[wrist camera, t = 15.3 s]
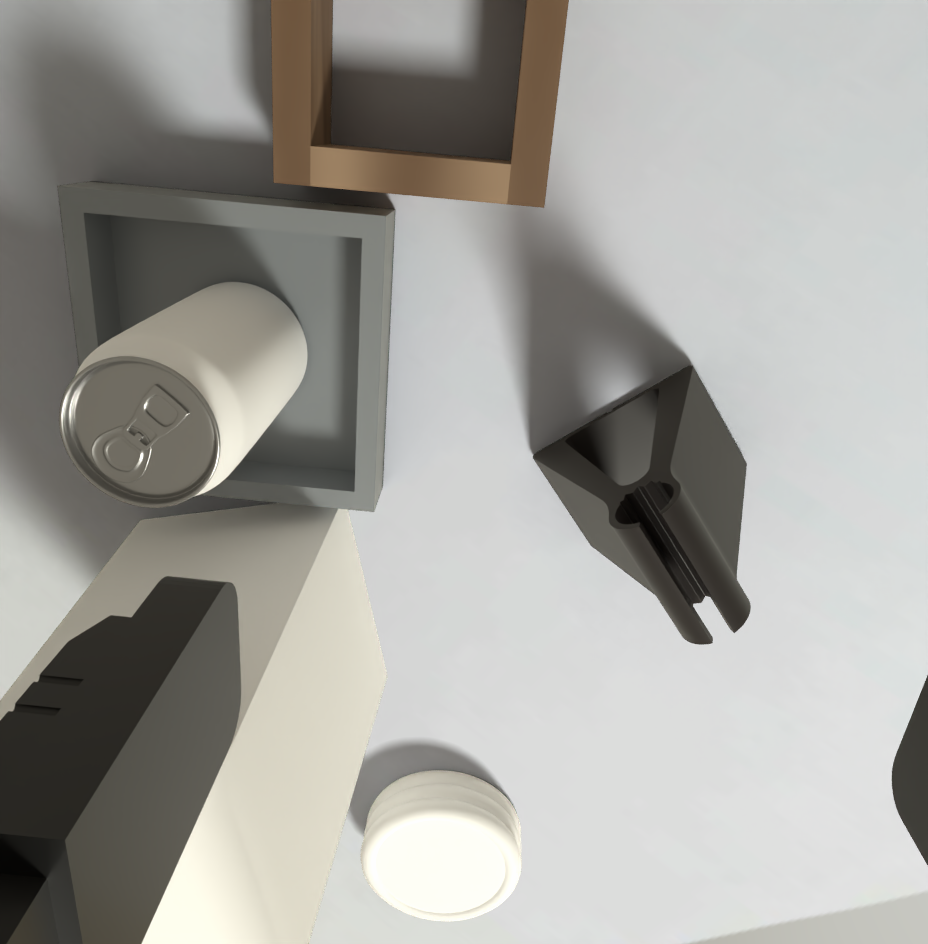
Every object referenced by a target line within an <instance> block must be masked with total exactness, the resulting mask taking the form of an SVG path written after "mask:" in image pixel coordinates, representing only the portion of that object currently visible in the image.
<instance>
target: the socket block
mask: <svg viewBox="0 0 928 944" xmlns="http://www.w3.org/2000/svg"><path fill="white" fill-rule="evenodd" d="M568 2H569V0H526V9H525V19H524V29H523V39H522V49H521V59H520V69H519V79H518V89H517V100H516V110H515V120H514V130H513V140H512V150H511V160H510V161H509V160H498V159H487V158H476V157H465V156H454V155H443V154H432V153H421V152H410V151H399V150H388V149H377V148H366V147H355V146H345V145H334V144H331V99H332V25H333V0H271V38H272V108H273V179H274V183H282V184H293V185H304V186H315V187H326V188H336V189H347V190H358V191H369V192H380V193H391V194H402V195H413V196H423V197H434V198H445V199H456V200H467V201H478V202H489V203H499V204H510V205H521V206H532V207H543V208H544V204H545V196H546V187H547V179H548V170H549V162H550V154H551V145H552V137H553V128H554V120H555V111H556V103H557V95H558V86H559V78H560V69H561V61H562V52H563V44H564V35H565V27H566V19H567V10H568Z"/></svg>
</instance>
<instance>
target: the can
mask: <svg viewBox="0 0 928 944" xmlns="http://www.w3.org/2000/svg"><path fill="white" fill-rule="evenodd" d="M306 366H307V344H306V339H305V336H304V333H303V330H302V328H301V325H300V323H299V322H298V320H297V318H296V317H295V315H294V314H293V312H292V311H291V310H290V309H289V308H288V306H287V305H286V304H285V303H284V302H282V301H281V300H280V299H279V298H278V297H276V296H275V295H274V294H272V293H270V292H269V291H267V290H265V289H263V288H261V287H258V286H255V285H252V284H248V283H242V282H224V283H219V284H215V285H212V286H209V287H207V288H204V289H202V290H200V291H198V292H196V293H194V294H192V295H190V296H189V297H187V298H185V299H183V300H181V301H179V302H177V303H175V304H173V305H172V306H170V307H168V308H166V309H164V310H162V311H160V312H158V313H157V314H155V315H153V316H151V317H149V318H147V319H146V320H144V321H142V322H140V323H138V324H136V325H135V326H133V327H131V328H129V329H127V330H125V331H124V332H122V333H120V334H118V335H116V336H115V337H113V338H111V339H110V340H108V341H106V342H105V343H103V344H102V345H100V346H99V347H98V348H96V349H95V350H94V351H93V352H92V353H91V354H90V355H89V356H88V357H87V358H86V359H85V360H84V362H83V363H82V364H81V366H80V367H79V369H78V371H77V373H76V375H75V377H74V378H73V380H72V381H71V382H70V384H69V385H68V387H67V389H66V391H65V393H64V395H63V398H62V401H61V405H60V412H59V425H60V432H61V437H62V440H63V443H64V446H65V448H66V451H67V453H68V455H69V457H70V458H71V460H72V462H73V463H74V465H75V466H76V467H77V469H78V470H79V471H80V472H81V474H82V475H83V476H84V477H85V478H86V479H87V480H88V481H89V482H90V483H91V484H93V485H94V486H95V487H96V488H98V489H99V490H101V491H102V492H104V493H105V494H107V495H109V496H111V497H113V498H115V499H117V500H119V501H122V502H124V503H127V504H131V505H135V506H140V507H148V508H161V507H168V506H173V505H177V504H180V503H182V502H185V501H187V500H189V499H190V498H192V497H194V496H197V495H200V494H202V493H205V492H207V491H209V490H211V489H212V488H214V487H216V486H217V485H218V484H220V483H221V482H222V481H223V480H224V479H226V478H227V477H228V476H229V475H230V473H231V472H232V471H233V470H234V469H235V468H236V467H237V465H238V464H239V463H240V462H241V461H242V459H243V458H244V457H245V456H246V454H247V453H248V452H249V451H250V449H251V448H252V447H253V446H254V444H255V443H256V442H257V441H258V439H259V438H260V437H261V435H262V434H263V433H264V432H265V430H266V429H267V428H268V427H269V425H270V424H271V423H272V421H273V420H274V419H275V418H276V416H277V415H278V414H279V412H280V411H281V410H282V409H283V407H284V406H285V405H286V403H287V402H288V401H289V399H290V398H291V397H292V395H293V394H294V393H295V391H296V390H297V388H298V387H299V385H300V383H301V381H302V379H303V377H304V374H305V371H306Z"/></svg>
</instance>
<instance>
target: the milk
mask: <svg viewBox="0 0 928 944" xmlns="http://www.w3.org/2000/svg"><path fill="white" fill-rule="evenodd" d="M166 576H172V577H182V578H192V579H202V580H212V581H222V582H231V583H233V584H234V586H235V588H236V592H237V598H238V619H239V644H240V668H241V704H240V712H239V718H238V723H237V727H236V731H235V734H234V738H233V741H232V743H231V746H230V748H229V751H228V753H227V755H226V757H225V759H224V762H223V764H222V766H221V768H220V771H219V773H218V775H217V777H216V779H215V782H214V784H213V786H212V788H211V791H210V793H209V795H208V797H207V799H206V802H205V804H204V806H203V808H202V811H201V813H200V815H199V817H198V819H197V822H196V824H195V826H194V828H193V831H192V833H191V835H190V837H189V839H188V842H187V844H186V846H185V848H184V851H183V853H182V855H181V857H180V859H179V862H178V864H177V866H176V868H175V871H174V873H173V875H172V877H171V879H170V882H169V884H168V886H167V888H166V891H165V893H164V895H163V897H162V899H161V902H160V904H159V906H158V908H157V911H156V913H155V915H154V917H153V919H152V922H151V924H150V926H149V928H148V931H147V933H146V935H145V937H144V939H143V942H142V944H309V941H310V938H311V934H312V931H313V928H314V924H315V921H316V917H317V914H318V911H319V907H320V904H321V900H322V897H323V894H324V890H325V887H326V884H327V880H328V877H329V873H330V870H331V867H332V863H333V860H334V856H335V853H336V850H337V846H338V843H339V839H340V836H341V833H342V829H343V826H344V823H345V819H346V816H347V812H348V809H349V806H350V802H351V799H352V795H353V792H354V789H355V785H356V782H357V779H358V775H359V772H360V768H361V765H362V762H363V758H364V755H365V751H366V748H367V745H368V741H369V738H370V735H371V731H372V728H373V724H374V721H375V718H376V714H377V711H378V707H379V704H380V701H381V697H382V694H383V690H384V687H385V684H386V680H387V677H388V676H387V672H386V668H385V663H384V659H383V655H382V651H381V647H380V642H379V638H378V634H377V630H376V626H375V621H374V617H373V613H372V609H371V604H370V600H369V596H368V592H367V588H366V583H365V579H364V575H363V571H362V566H361V562H360V558H359V554H358V550H357V545H356V541H355V537H354V533H353V529H352V524H351V520H350V516H349V512H348V509H338V508H327V507H317V506H306V505H296V504H286V503H274V504H266V505H258V506H250V507H242V508H233V509H225V510H217V511H209V512H201V513H192V514H184V515H176V516H168V517H160V518H152V519H143V520H140V521H139V523H138V524H137V525H136V526H135V528H134V529H133V530H132V532H131V533H130V534H129V535H128V537H127V538H126V539H125V541H124V542H123V543H122V545H121V546H120V547H119V548H118V550H117V551H116V552H115V554H114V555H113V556H112V557H111V559H110V560H109V561H108V563H107V564H106V565H105V566H104V568H103V569H102V570H101V572H100V573H99V574H98V575H97V577H96V578H95V579H94V581H93V582H92V583H91V584H90V586H89V587H88V588H87V590H86V591H85V592H84V593H83V595H82V596H81V597H80V599H79V600H78V601H77V602H76V604H75V605H74V606H73V608H72V609H71V610H70V611H69V613H68V614H67V615H66V617H65V618H64V619H63V620H62V622H61V623H60V624H59V626H58V627H57V628H56V629H55V631H54V632H53V633H52V635H51V636H50V637H49V638H48V640H47V641H46V642H45V644H44V645H43V646H42V647H41V649H40V650H39V651H38V653H37V654H36V655H35V656H34V658H33V659H32V660H31V662H30V663H29V664H28V665H27V667H26V668H25V669H24V671H23V672H22V673H21V675H20V676H19V677H18V678H17V680H16V681H15V682H14V684H13V685H12V686H11V687H10V689H9V690H8V691H7V693H6V694H5V695H4V696H3V698H2V699H1V700H0V720H1V719H2V718H3V717H4V716H5V714H6V713H7V712H8V711H13V710H14V708H15V703H16V702H17V700H18V699H19V698H20V697H21V696H22V695H23V693H24V692H25V691H26V690H27V689H28V688H29V686H30V685H31V684H32V683H33V682H38V680H39V677H40V674H41V672H42V671H43V670H44V669H45V668H46V667H47V665H48V664H49V663H50V662H51V661H52V660H53V658H54V657H55V656H56V655H57V654H58V653H59V651H60V650H61V649H62V648H63V647H64V646H65V644H66V643H67V642H68V641H69V640H71V639H73V638H74V637H76V636H78V635H79V634H81V633H82V632H84V631H86V630H87V629H89V628H91V627H92V626H94V625H95V624H97V623H99V622H100V621H102V620H104V619H105V618H107V617H108V616H110V615H114V616H124V617H132V616H133V615H134V613H135V612H136V611H137V609H138V608H139V607H140V605H141V604H142V603H143V602H144V600H145V599H146V598H147V596H148V595H149V594H150V592H151V591H152V590H153V589H154V587H155V586H156V585H157V583H158V582H159V581H160V580H161V579H162V578H164V577H166Z"/></svg>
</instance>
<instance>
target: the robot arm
mask: <svg viewBox="0 0 928 944" xmlns="http://www.w3.org/2000/svg"><path fill="white" fill-rule="evenodd" d="M240 704H241V668H240V644H239V619H238V598H237V592H236V588H235V586H234V584H233V583H231V582H222V581H212V580H202V579H192V578H182V577H172V576H166V577H164V578H162V579H161V580H160V581H159V582H158V583H157V585H156V586H155V587H154V589H153V590H152V591H151V592H150V594H149V595H148V596H147V598H146V599H145V600H144V602H143V603H142V604H141V605H140V607H139V608H138V609H137V611H136V612H135V613H134V615H133V616H132V617H124V616H114V615H110V616H108V617H107V618H105V619H104V620H102V621H100V622H99V623H97V624H95V625H94V626H92V627H91V628H89V629H87V630H86V631H84V632H82V633H81V634H79V635H78V636H76V637H74V638H73V639H71V640H69V641H68V642H67V643H66V644H65V646H64V647H63V648H62V649H61V650H60V651H59V653H58V654H57V655H56V656H55V657H54V658H53V660H52V661H51V662H50V663H49V664H48V665H47V667H46V668H45V669H44V670H43V671H42V672H41V674H40V677H39V680H38V682H33V683H32V684H31V685H30V686H29V688H28V689H27V690H26V691H25V692H24V693H23V695H22V696H21V697H20V698H19V699H18V700H17V702H16V703H15V708H14V710H13V711H8V712H7V713H6V714H5V716H4V717H3V718H2V719H1V720H0V944H142V942H143V939H144V937H145V935H146V933H147V931H148V928H149V926H150V924H151V922H152V919H153V917H154V915H155V913H156V911H157V908H158V906H159V904H160V902H161V899H162V897H163V895H164V893H165V891H166V888H167V886H168V884H169V882H170V879H171V877H172V875H173V873H174V871H175V868H176V866H177V864H178V862H179V859H180V857H181V855H182V853H183V851H184V848H185V846H186V844H187V842H188V839H189V837H190V835H191V833H192V831H193V828H194V826H195V824H196V822H197V819H198V817H199V815H200V813H201V811H202V808H203V806H204V804H205V802H206V799H207V797H208V795H209V793H210V791H211V788H212V786H213V784H214V782H215V779H216V777H217V775H218V773H219V771H220V768H221V766H222V764H223V762H224V759H225V757H226V755H227V753H228V751H229V748H230V746H231V743H232V741H233V738H234V734H235V731H236V727H237V723H238V718H239V712H240ZM892 789H893V796H894V801H895V804H896V808H897V810H898V813H899V815H900V817H901V819H902V821H903V823H904V825H905V826H906V828H907V830H908V832H909V833H910V835H911V837H912V839H913V840H914V842H915V844H916V846H917V848H918V849H919V851H920V853H921V855H922V856H923V858H924V860H925V862H926V863H927V865H928V676H927V678H926V681H925V683H924V686H923V688H922V691H921V693H920V696H919V698H918V701H917V703H916V706H915V708H914V711H913V714H912V716H911V719H910V721H909V724H908V726H907V729H906V731H905V734H904V736H903V739H902V741H901V744H900V746H899V749H898V751H897V754H896V756H895V759H894V763H893V768H892Z"/></svg>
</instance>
